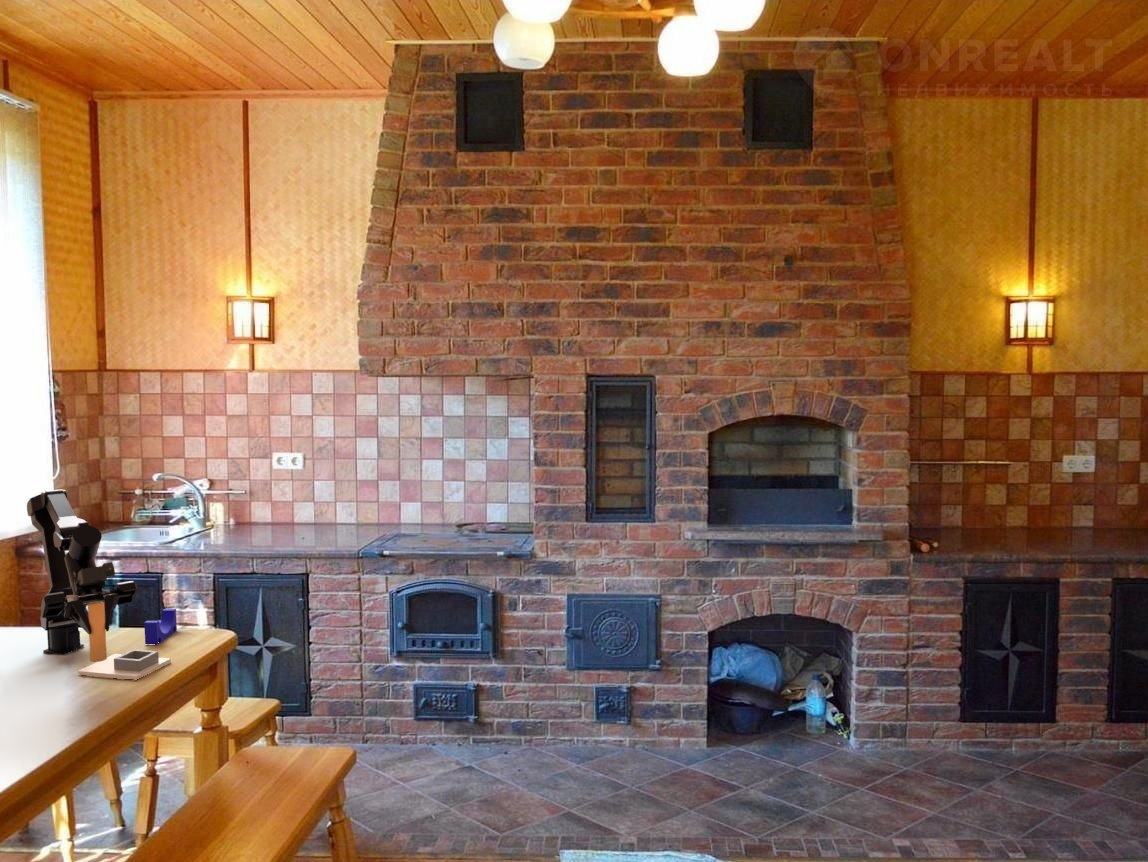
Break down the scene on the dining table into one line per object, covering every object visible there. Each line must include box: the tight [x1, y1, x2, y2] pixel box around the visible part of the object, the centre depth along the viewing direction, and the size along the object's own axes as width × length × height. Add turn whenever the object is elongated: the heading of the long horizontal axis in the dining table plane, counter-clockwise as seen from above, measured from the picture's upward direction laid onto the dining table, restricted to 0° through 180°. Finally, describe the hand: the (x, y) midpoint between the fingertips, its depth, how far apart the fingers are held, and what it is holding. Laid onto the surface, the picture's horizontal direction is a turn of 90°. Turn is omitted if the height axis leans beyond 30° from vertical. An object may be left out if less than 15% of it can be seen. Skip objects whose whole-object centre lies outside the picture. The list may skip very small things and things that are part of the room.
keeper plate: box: [77, 648, 172, 681], centre depth 214 cm, size 15×12×4 cm
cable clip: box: [143, 608, 178, 646], centre depth 236 cm, size 12×4×6 cm, turn 1°
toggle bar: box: [87, 601, 108, 663], centre depth 202 cm, size 3×3×12 cm
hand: (99, 631), depth 201 cm, fingers closed on toggle bar, 3 cm apart
